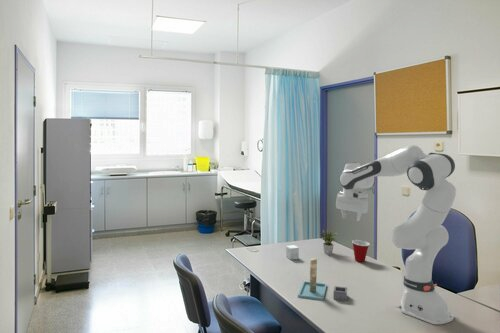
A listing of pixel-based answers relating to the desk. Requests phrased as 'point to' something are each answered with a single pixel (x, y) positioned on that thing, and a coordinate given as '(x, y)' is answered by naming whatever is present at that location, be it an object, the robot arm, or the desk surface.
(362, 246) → the plastic cup
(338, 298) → the square cup
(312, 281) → the beech pin
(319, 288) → the tray
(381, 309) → the desk surface
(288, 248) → the product box
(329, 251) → the house plant
